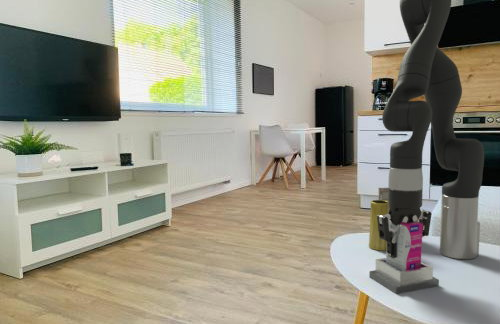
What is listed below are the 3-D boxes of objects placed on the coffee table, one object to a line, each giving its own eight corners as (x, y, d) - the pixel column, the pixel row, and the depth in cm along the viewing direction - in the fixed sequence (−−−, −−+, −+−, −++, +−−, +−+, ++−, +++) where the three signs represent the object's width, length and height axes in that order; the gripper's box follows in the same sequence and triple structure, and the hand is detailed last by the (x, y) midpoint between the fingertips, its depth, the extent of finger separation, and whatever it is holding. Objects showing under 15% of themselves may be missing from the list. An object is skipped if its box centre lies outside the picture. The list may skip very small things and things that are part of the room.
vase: (367, 243, 122) (367, 199, 121) (387, 244, 122) (388, 199, 120) (370, 250, 116) (371, 203, 115) (391, 251, 116) (392, 203, 114)
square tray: (409, 270, 101) (409, 253, 100) (438, 285, 91) (439, 267, 91) (369, 277, 97) (369, 259, 97) (395, 293, 88) (396, 274, 87)
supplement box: (403, 274, 90) (404, 225, 89) (385, 265, 95) (385, 219, 94) (422, 269, 92) (423, 222, 91) (403, 261, 98) (404, 217, 96)
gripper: (418, 182, 97) (417, 247, 99) (369, 186, 93) (368, 254, 95) (442, 186, 90) (439, 256, 92) (389, 191, 86) (388, 264, 88)
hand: (403, 255), depth 93 cm, fingers closed on supplement box, 6 cm apart
